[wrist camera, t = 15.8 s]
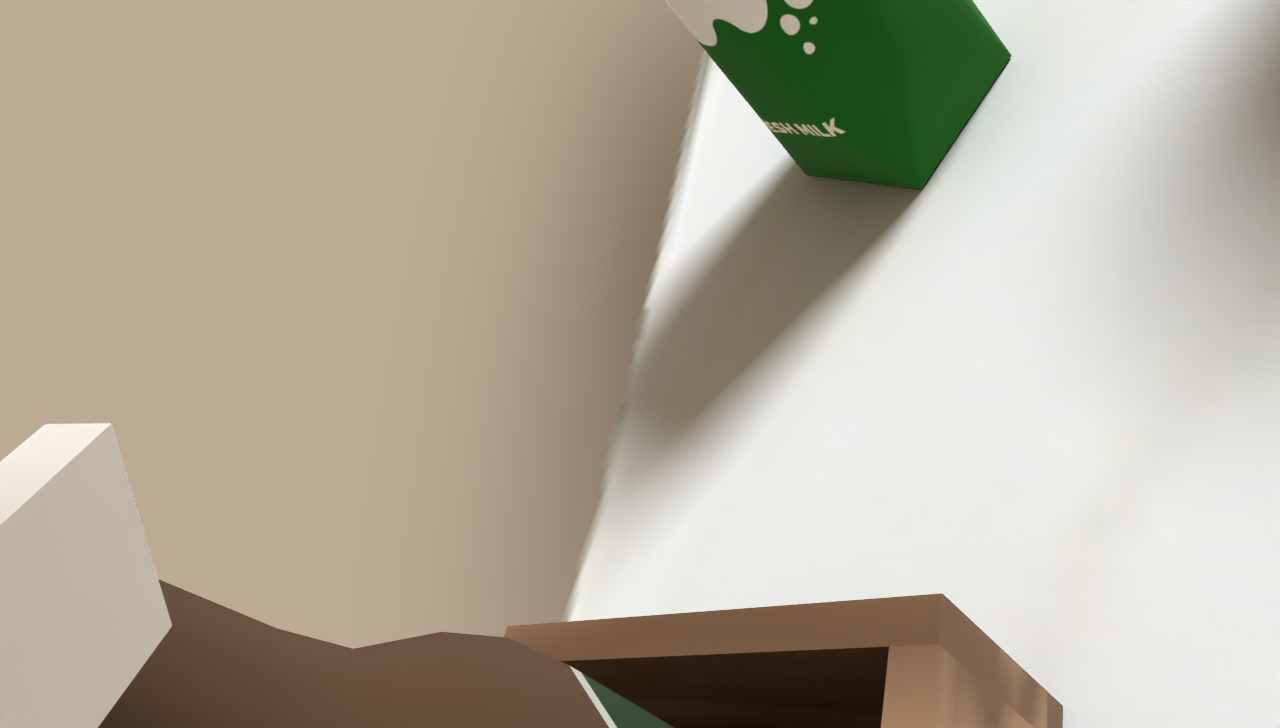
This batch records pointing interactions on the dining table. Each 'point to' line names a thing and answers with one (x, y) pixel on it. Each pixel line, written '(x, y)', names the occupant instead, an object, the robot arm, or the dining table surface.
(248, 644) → the beer bottle
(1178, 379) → the dining table surface
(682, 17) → the milk carton
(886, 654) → the walnut box
